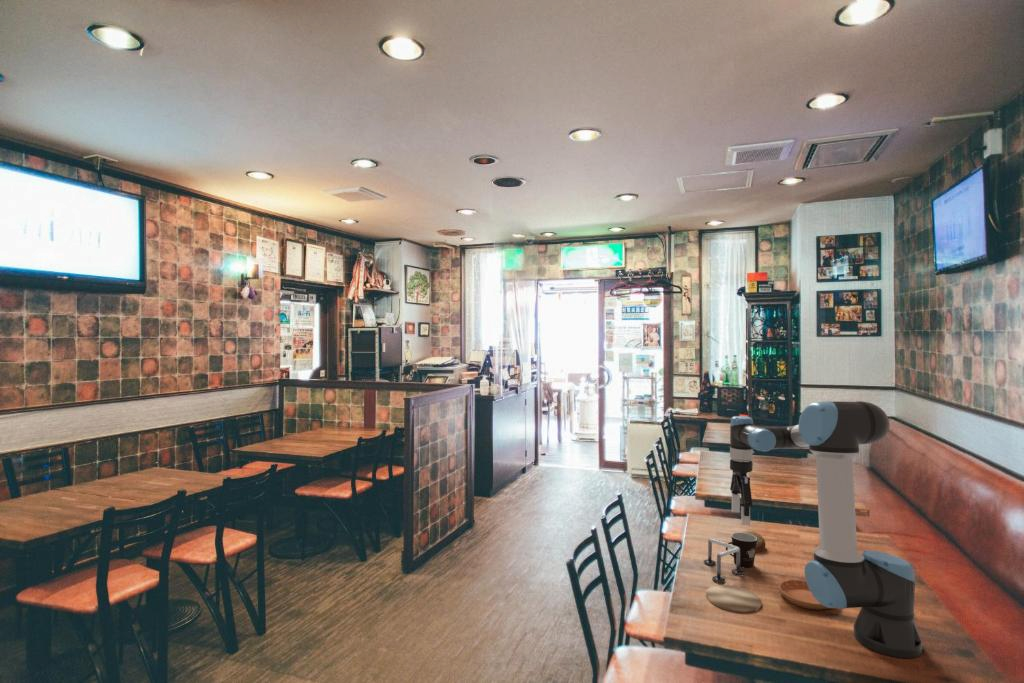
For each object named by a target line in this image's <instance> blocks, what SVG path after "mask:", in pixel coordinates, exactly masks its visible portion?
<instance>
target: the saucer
mask: <svg viewBox="0 0 1024 683" xmlns="http://www.w3.org/2000/svg"><path fill="white" fill-rule="evenodd" d="M778 584H779V585H778V591H779V593H780V594H781V595H782V596H783V597H784V598H785V600H787V601H788V602H789V601H790V602H789V603H791V604H793V605H795V604H796V605H795V606H797V605H798V606H797V607H800V606H801V607H800V608H803V607H804V608H803V609H807V608H809V609H808V610H813V609H816V610H815V611H823V609H824V610H827V609H829V608H828V607H825V606H823V605H822V604H820V603H819V602H818V601H817V600H816V599H815V597H814V596H813V595H812V593H811V591H810V590H809V587H808V585H807V582H806V580H804V579H787V580H782V581H781V582H780V583H778Z"/></svg>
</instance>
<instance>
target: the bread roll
mask: <svg viewBox="0 0 1024 683" xmlns="http://www.w3.org/2000/svg"><path fill="white" fill-rule="evenodd" d="M741 533H747V534H751V535H754V536H755V537H757V545H756V551H759V552H761V551H760V550H762V551H764V550H765V548H766V541H765V539H764V536H762V535H761V534H759V533H758V532H756V531H753V530H745V531H741Z"/></svg>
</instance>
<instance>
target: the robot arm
mask: <svg viewBox="0 0 1024 683" xmlns="http://www.w3.org/2000/svg"><path fill="white" fill-rule="evenodd" d="M890 425H891V424H890V419H889V416H888V415H887V414H886V412H885V411H884V410H883V409H882V408H881V407H880V406H878V405H877V404H874V403H872V402H867V401H862V400H859V401H858V400H857V401H829V400H826V401H823V400H822V401H817V402H816V401H815V402H812V403H809V404H808V405H807V406H805V408H804V409H803V410H802V411H801V414H800V416H799V420H798V424H796V425H795V424H794V425H791V426H756V425H754V420H753V418H752V417H751V416H744V415H743V416H742V415H734V416H732V417H731V418H730V426H729V429H730V431H729V433H730V434H729V435H730V436H729V437H730V438H729V440H730V441H729V457H730V459H729V470H731V471H732V476H731V482H730V487H729V489H730V491H731V512H732V513H741V514H740V515H741V516H740V517H741V520H740V522H741V523H740V524H741V525H743V526H750V525H751V507H753V497H752V491H751V490H752V489H751V478H750V477H748V474H747V473H751V472H752V471H753V466H754V464H753V461H752V460H753V454H755V451H757V452H764V453H765V452H767V453H768V452H770V451H771V450H782V449H784V450H791V449H792V450H803V449H809V451H810V452H811V453H812V454H813V455H814V456H815V460H816V461H815V464H816V465H815V466H816V487H817V488H816V489H817V507H818V508H817V510H818V513H817V514H818V529H819V532H818V534H819V536H818V537H819V545H818V546H817V547H816V548H815V549H813V559H812V560H809V561H807V562H806V564H805V565H804V579H805V581H806V582H807V585H808V587H809V590H810V591H811V593H812V595H813V596H814V597H815V599H816V600H817V601H818V602H819V603H820V604H822V605H823V606H825V607H828V609H840V610H845V609H853V608H854V609H855V608H856V609H857V608H860V610H859V612H858V614H857V616H856V619H855V620H854V623H853V636H854V638H855V639H856V640H857V642H859V643H861V644H862V645H863V646H865V647H866V648H868V649H870V650H872V651H875V652H877V653H880V654H882V655H885V654H886V656H889V657H895V658H900V659H913V658H918V657H920V656H921V655H922V652H923V643H922V639H921V637H920V636H921V635H920V634H919V630H918V627H917V625H916V622H915V592H916V591H915V589H916V587H915V586H916V579H915V570H914V567H913V565H912V564H911V563H909V562H908V561H907V560H905V559H903V558H901V557H898V556H896V555H893V554H890V553H887V552H883V551H879V550H878V551H877V550H873V549H872V550H871V549H865V550H863V551H862V553H861V552H860V551H859V550H858V542H857V541H858V540H857V522H856V520H857V517H856V501H855V500H856V499H855V498H856V495H855V477H854V458H856V457H857V456H858V455H859V454H860V445H868V444H869V445H870V444H874V443H877V442H880V441H881V440H882V439H884V438H885V437H886V436H887V435H888V433H889V430H890ZM754 450H755V451H754ZM740 510H741V512H740Z"/></svg>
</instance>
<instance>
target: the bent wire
mask: <svg viewBox="0 0 1024 683" xmlns="http://www.w3.org/2000/svg"><path fill="white" fill-rule="evenodd" d="M707 542H708V545H707V546H708V547H707V551H708V552H707V554H708V555H707V559H704V560H703V563H704V564H705V565H706V564H707V565H706V566H710V565H714V566H716V575H714V576H712V579H711V580H712V581H713V582H714V583H716V582H718V583H717V584H724V582H726V579H725V577H723V576H721V575H722V574H721V571H722V568H721V567H722V557H725V556H728V555H729V556H730V554H732V555H733V553H735V552H736V565H735V566H736V568H735V569H732V570H731V574H733V575H734V574H735V575H734V576H737V575H743V576H745V571H744V570H742V569H741V567H740V548H739V547H737V546H734V545H732V544H728V542H724V541H721V540H717V539H714V538H712V537H711V538H709V539H708V540H707ZM713 544H716V545H719V546H722V547H725V548H726V547H728V548H729V549H728V550H727V551H726V550H724V551H722V552H718V553H717V555H716V561H715V560H713V557H712V556H713V555H712V554H713V552H712V551H713V549H712V548H713V547H712V546H713Z"/></svg>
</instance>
